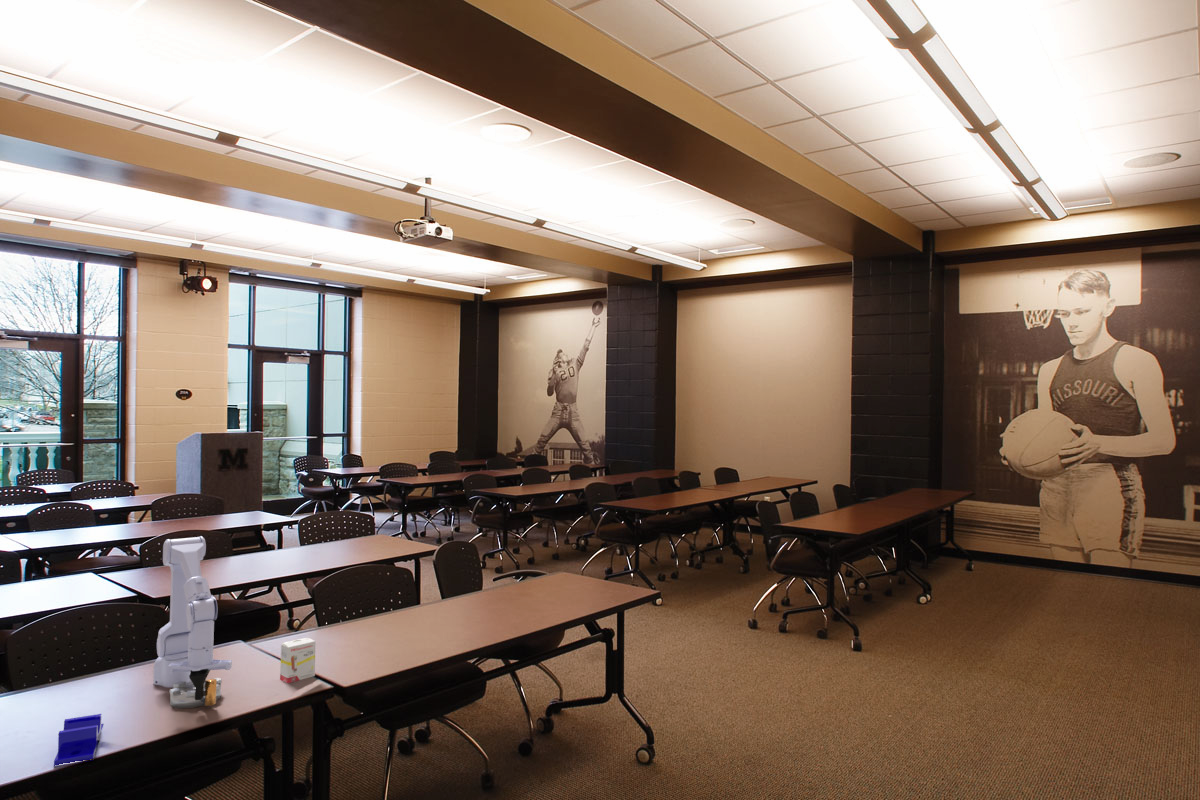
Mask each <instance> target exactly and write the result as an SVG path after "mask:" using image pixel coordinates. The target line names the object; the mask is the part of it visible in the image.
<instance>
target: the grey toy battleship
mask: <svg viewBox="0 0 1200 800" xmlns="http://www.w3.org/2000/svg"><path fill="white" fill-rule="evenodd" d="M222 681H223V680H222V678H220V677H215V678H210V679H206V680H205V682H204V695H203V698H202V699H201V700H195V690H196V689H195V687H194V684H193V683H192V681H191V682H188V683H186V681H179V682H177V683H175V684H173V687H172V689H171V688H170V689H169V694H170V697H169V700H170V701H169V702H170V703H169V704H170V706H171V707H173V708H176V709H191V708H199V707H203V706H207V707H209V706H213V705H216V704H217V701H218V700H219V699H220V698H221V696H222V684H223V683H222Z"/></svg>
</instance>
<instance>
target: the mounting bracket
mask: <svg viewBox="0 0 1200 800" xmlns="http://www.w3.org/2000/svg"><path fill="white" fill-rule="evenodd" d="M103 726H104V723H102V713H97V714H91V715H83V716H79V717H71V718H65V719H64V721H63V730H59V731H58V738H57V739H58V743H57V744H58V746H57V752H56V755H55V757H54V759H53V767H54V766H55V765H59V764H63V763H70V762H75V761H83V760H90V759H93V758H94V759H95V756H96V753H97V750H98V747H99V744H100V740H99V738H100V736H101V733H102V731H103V728H104V727H103ZM95 752H96V753H95ZM94 755H95V756H94ZM94 759H93V760H94ZM90 761H91V760H90Z"/></svg>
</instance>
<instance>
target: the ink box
mask: <svg viewBox="0 0 1200 800" xmlns="http://www.w3.org/2000/svg"><path fill="white" fill-rule="evenodd" d="M279 669H280V671H279V672H280V673H279V679H280V681H282V682H284V683H286V684H290V683H293V682H298V681H301V680H304V679H305V680H306V679H308V678H311V677H315V676H316V672H315V671H316V640H314V639H312V638H310V637H304V638H298V639H294V640H289V641H284V642H282V643H281V645H280V668H279Z"/></svg>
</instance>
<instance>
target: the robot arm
mask: <svg viewBox="0 0 1200 800" xmlns="http://www.w3.org/2000/svg"><path fill="white" fill-rule="evenodd" d="M206 549H207V544H206V539H205V537H203V536H202V535H200V536H197V537H196V536H194V537H193V536H192V537H185V538H172V539H170V538H168V539H165V541H164V542H163V546H162V563H163V566H166V567H169V569H170V575H171V576H170V595H169V596H170V598H169V599H170V603H169V607H170V608H169V621H168V623H166V624H165V625H164V626H162V627H161V628H160V629H159V630H158V635H157V639H156V653H157V656H158V657H157V658H156V660H155V661H154V664H153V671H152V672H153V673H152V674H153V676H152V678H153V679H152V685H156V686H161V687H164V688H173V684H175V683H177V682H179V681H186V683H188V682H192V683H193V684H194V687H195V689H196V690H195V700H201V699H202V698H203V695H204V682H205V680H207V678H208V676H209V673H210V672H211V671H217V670H220V671H221V670H226V671H231V669H232V666H233V665H232V664H233V660H232V659H214V640H215V639H214V636H215V635H214V632H215V621H216V620H217V618H218V614H219V613H218V610H219V609H218V602H217V599H216V597H214V595H213V594H211V590H210V586H209V582H208V579H207V578H205V577H202V576H203V575H202V569H201V561H203V560H204V557H205V556H206V551H207V550H206Z"/></svg>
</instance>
